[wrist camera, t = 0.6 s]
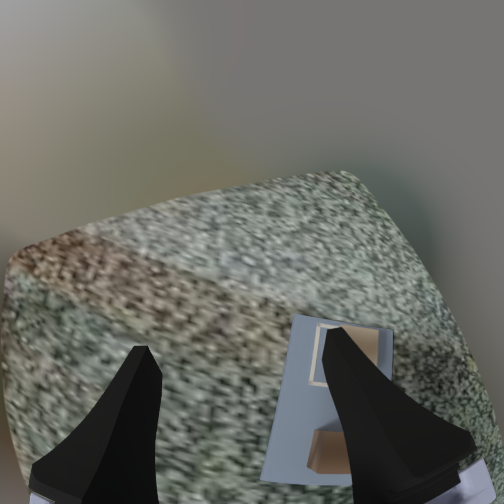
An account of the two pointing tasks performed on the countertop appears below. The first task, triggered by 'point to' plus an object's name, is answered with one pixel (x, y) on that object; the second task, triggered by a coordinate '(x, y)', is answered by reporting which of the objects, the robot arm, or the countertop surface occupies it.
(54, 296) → the countertop surface
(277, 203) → the countertop surface
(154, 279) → the countertop surface
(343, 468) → the walnut block
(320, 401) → the board
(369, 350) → the maple block
